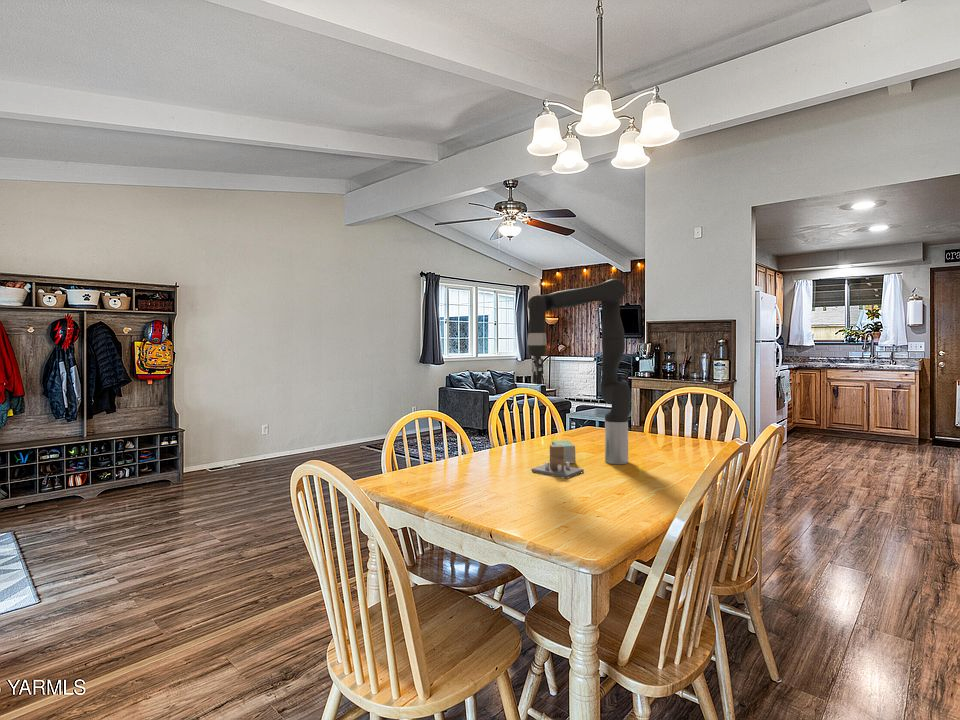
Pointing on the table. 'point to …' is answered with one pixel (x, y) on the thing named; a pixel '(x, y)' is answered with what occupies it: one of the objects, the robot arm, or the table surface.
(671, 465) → the table surface
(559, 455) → the post
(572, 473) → the peg plate
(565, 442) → the box
